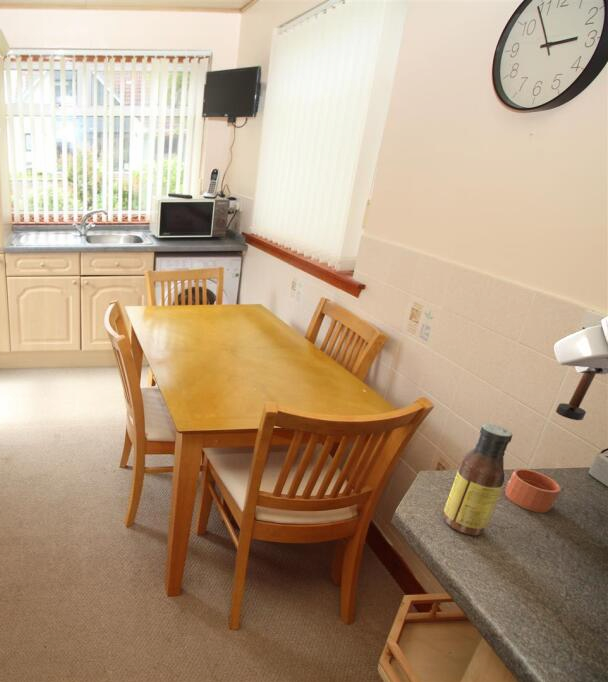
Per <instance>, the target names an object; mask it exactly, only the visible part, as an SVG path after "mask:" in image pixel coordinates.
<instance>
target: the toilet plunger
mask: <svg viewBox="0 0 608 682" xmlns="http://www.w3.org/2000/svg"><path fill="white" fill-rule="evenodd" d="M598 369H599V368H595V371H593V372H589V373H582V375H581V378H580V380H579V382H578V383H577V386H576V388H575V389H574V391H573V394H572V396H571V398H570V399H569V402H568V403H558V405H557V407H556V410H555V413H556V414H558V415H559V416H562V417H563V418H567V419H569V420H574V421H583V419H584V417H585V415H586V414H587V411H586V410H585V409H583V408H581V407H580V406H581V404H582V402H583V401H584V398H585V397H586V395H587V392H588V390H589V389H590V386H591V385H592V383H593V381H594V379H595V376H596V375H597V374H596V373H597V371H598Z"/></svg>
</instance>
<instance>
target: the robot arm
mask: <svg viewBox="0 0 608 682" xmlns="http://www.w3.org/2000/svg"><path fill="white" fill-rule="evenodd" d="M600 322H601V324H598V325H593V326H589V327H586V328H583V329H581V330H579V331H577V332H574V333H573V334H570V335H568V336H566V337H564V338H562V339H560V340H557V342H556V343H555V344H554V345H553V351H554V355H555V358H556V361H557V363H558V364H559V365H560V366H568V367H574V368H575V371H576V372H577V373H579V374H584V373H589V372H593V371H595V368H599V369H598V371H597V373H596V375H607V374H608V316H606V317H604V318H602V319H601V321H600Z"/></svg>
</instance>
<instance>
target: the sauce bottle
mask: <svg viewBox="0 0 608 682" xmlns="http://www.w3.org/2000/svg"><path fill="white" fill-rule="evenodd" d="M479 433H480V435H479V437H478V441H477V443H476V444H475V448H473V449H471V450H469V451H468V452H466V453H465V454H464V456H463V457H462V459H461V463H460V465H459V468H458V469H457V471H456V474H455V478H454V480H453V483H452V485H451V489H450V491H449V495H448V498H447V500H446V503H445V505H444V508H443V520H444V522H445V523H446V524H447V525H449V526H450V527H451V528H452V529H453V530H455V531H457V532H459V533H461V534H464V535H468V536H473V537H475V536H480V535H482V534H484V531H485V529H486V528H487V526H488V524H489V521H490V519H491V516H492V514H493V511H494V508H495V506H496V503H497V501H498V499H499V497H500V493H501V490H502V488H503V486H504V482H505V471H504V469H505V468H504V457H505V453H506V450H507V447H508V445H509V443H511V442H512V438H513V432H512V431H510V430H509V429H508V428H506V427H503V426H501V425H497V424H492V423H484V424H482V425H481V428H480V430H479Z"/></svg>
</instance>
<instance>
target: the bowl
mask: <svg viewBox="0 0 608 682" xmlns="http://www.w3.org/2000/svg"><path fill="white" fill-rule="evenodd" d="M561 491H562V487H561V484H559V483H558V482H557V481H556V480H555V479H553V478H551V477H550V476H548V475H546V474H544V473H541V472H540V471H539V472H538V471H536V470H533V469H528V468H516V469H513V472H512V474H511V476H510V478H509V480H508V482H507V485H506V486H505V492H504V493H505V496H506V498H507V499H508V500H510V501H511V502H512V503H514V504H515V505H516V506H519V507H521V508H522V509H525V510H528V511H531V512H535V513H540V514H542V513H548V512H549V511H550V509H551V510H552V508H553V506H554V505H555V503H556V501H557V499H558V497H559V495H560V493H561Z"/></svg>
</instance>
